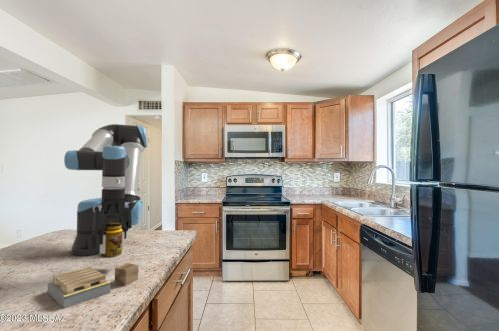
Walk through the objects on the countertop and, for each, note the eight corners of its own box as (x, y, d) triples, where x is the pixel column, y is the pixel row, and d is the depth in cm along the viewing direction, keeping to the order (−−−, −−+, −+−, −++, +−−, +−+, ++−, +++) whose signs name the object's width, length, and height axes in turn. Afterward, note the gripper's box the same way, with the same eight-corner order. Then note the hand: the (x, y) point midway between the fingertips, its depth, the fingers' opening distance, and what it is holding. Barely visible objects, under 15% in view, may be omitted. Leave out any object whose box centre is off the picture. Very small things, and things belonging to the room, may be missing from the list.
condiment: (120, 257, 94) (121, 224, 94) (94, 259, 92) (94, 224, 92) (125, 250, 101) (126, 219, 101) (101, 251, 99) (101, 220, 99)
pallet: (52, 282, 79) (52, 275, 79) (89, 272, 87) (89, 266, 87) (67, 294, 72) (67, 287, 72) (105, 282, 80) (105, 275, 80)
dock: (47, 292, 79) (47, 282, 79) (90, 279, 88) (91, 270, 88) (64, 308, 70) (64, 296, 70) (110, 292, 80) (110, 282, 80)
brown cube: (114, 283, 86) (115, 267, 86) (126, 277, 91) (127, 262, 91) (125, 286, 84) (126, 270, 84) (137, 280, 89) (138, 265, 89)
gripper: (89, 190, 87) (88, 260, 87) (143, 187, 102) (141, 246, 102) (80, 188, 92) (79, 254, 92) (133, 185, 107) (131, 242, 107)
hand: (112, 250), depth 97 cm, fingers closed on condiment, 6 cm apart
